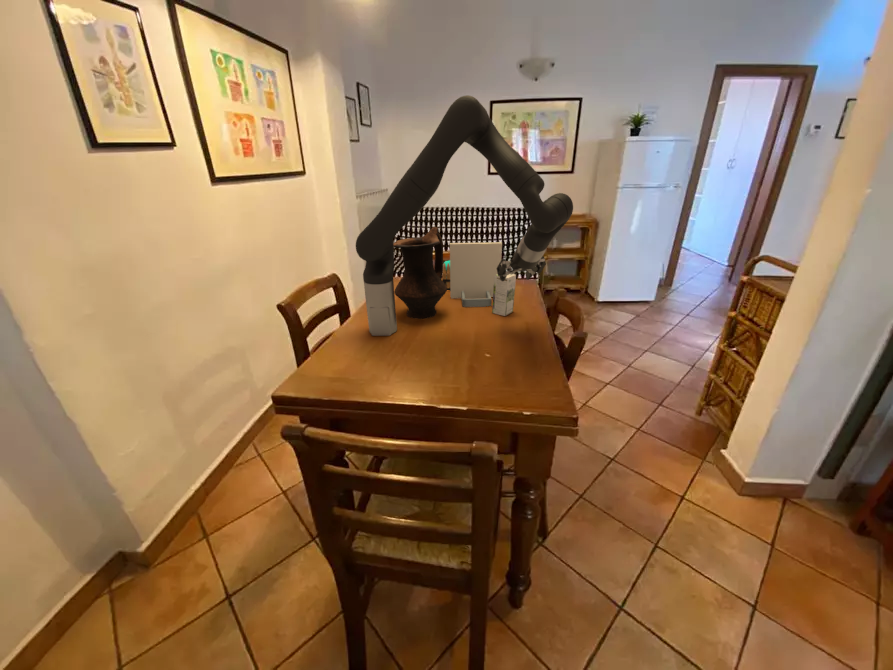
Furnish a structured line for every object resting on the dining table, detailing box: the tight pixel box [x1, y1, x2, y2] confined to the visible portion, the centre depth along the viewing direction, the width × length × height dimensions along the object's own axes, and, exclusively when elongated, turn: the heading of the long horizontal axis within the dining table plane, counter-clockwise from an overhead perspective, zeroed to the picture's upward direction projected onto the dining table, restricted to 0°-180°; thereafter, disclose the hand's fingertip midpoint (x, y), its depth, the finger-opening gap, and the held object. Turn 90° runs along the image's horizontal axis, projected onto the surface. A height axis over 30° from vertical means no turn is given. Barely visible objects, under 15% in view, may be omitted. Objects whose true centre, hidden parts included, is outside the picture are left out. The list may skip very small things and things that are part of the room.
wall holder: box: [449, 241, 503, 308], centre depth 143 cm, size 12×20×22 cm, turn 90°
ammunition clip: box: [442, 262, 450, 290], centre depth 159 cm, size 11×2×12 cm, turn 81°
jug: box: [393, 226, 448, 320], centre depth 130 cm, size 21×18×30 cm
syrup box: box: [491, 273, 517, 317], centre depth 134 cm, size 6×6×14 cm
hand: (514, 278), depth 122 cm, fingers open, 8 cm apart
